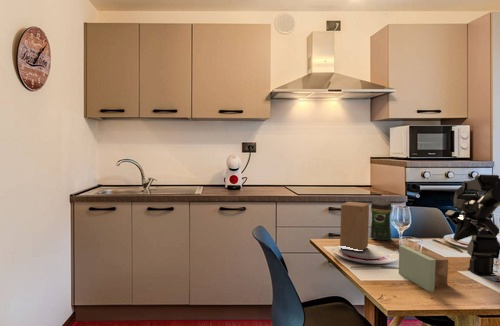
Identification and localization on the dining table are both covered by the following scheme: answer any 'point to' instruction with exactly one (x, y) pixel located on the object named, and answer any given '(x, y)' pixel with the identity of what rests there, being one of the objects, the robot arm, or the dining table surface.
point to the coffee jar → (380, 220)
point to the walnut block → (439, 268)
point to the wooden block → (354, 225)
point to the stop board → (417, 267)
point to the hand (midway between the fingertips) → (454, 239)
